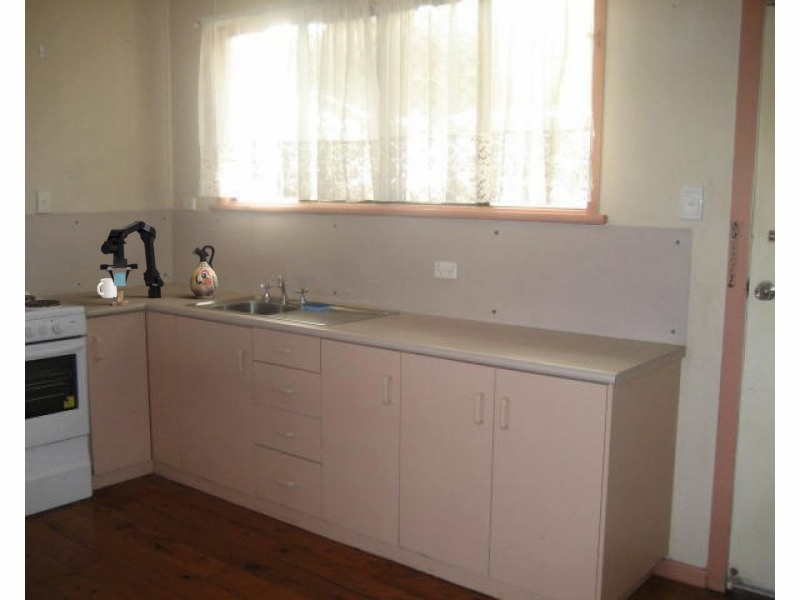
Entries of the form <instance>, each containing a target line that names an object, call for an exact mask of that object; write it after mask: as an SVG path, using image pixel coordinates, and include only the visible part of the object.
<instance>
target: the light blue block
mask: <svg viewBox="0 0 800 600" xmlns="http://www.w3.org/2000/svg"><path fill="white" fill-rule="evenodd" d="M113 276H114V286H117V287H122V286H123V287H124V286H125V287H126V285H127V282H126V283H125V278H126V271H117V272H116V271H113Z"/></svg>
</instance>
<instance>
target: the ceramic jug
mask: <svg viewBox="0 0 800 600" xmlns="http://www.w3.org/2000/svg"><path fill="white" fill-rule="evenodd" d="M208 249H210V250H211V255H210V254H209V252H208V251H207V250H208ZM215 251H216V250H215V247H214V246H213V245H212V244H205V245H204V246H202V248H200V247H198V246H197V247H195V249H194V250H193V251H192V252H191V254H193V255H194V256H195V255H196V256H197V257H199V262H198V263H197V265H196V266H195V268H194V270H193V271H192V273H191V275H190V279H189V287H190V290H191V292H192V293H193V294H194V295H195V298H196V299H198V298H199V299H198V300H202V299H204V300H205V299H206V298H207V299H212V298H214V295H215V293H216V292H217V290H218V288H219V280H218V276H217V274H216V272H215V270H214V265H213V261H214V257H215V254H216V253H215ZM209 256H210V257H209ZM208 257H209V260H208V259H207V258H208Z"/></svg>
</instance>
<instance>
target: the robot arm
mask: <svg viewBox="0 0 800 600" xmlns="http://www.w3.org/2000/svg"><path fill="white" fill-rule="evenodd" d="M135 232H136V233H137V234H139V236H140V240H141V241H142V243H143V245H144V255H145V263H146V264H145V265H146V270H145V272H143V273H142V274H143V280H144V283H145V287H148V289H147V297H148V298H150V299H153V298H152V297H160V298H162V287H164V285H165V281H164V280H163V279H162V278H161V273H160V272H159V271H158V268H157V264H156V255H155V254H156V253H155V245H154V243H155V240H156V238H157V230H156V228H154V227H153V226H151V225H149V224H148V223H146V222H145V221H143V220H135V221H134V222H132V223H129V224H128V225H125V226H123V227H116V228H111V230H110V232H109V234H108V236H107V239H106V240H104V241H103V244H101V247H100V251H101V253H102V254H103V255H112V264H109V263H100V265H99V270H102V271H104V270H105V271H106V272H108V273H109V275H110V278H112V280H113V283H114V271H113V269H126V270H125V283H126V284H127V281H128V277H129V275H130V273H131V272H133V270H138V269H139V264H138V263H137V262H130V263H129V262H128V258H126V257H125V245H126V244H128V243H127V241H126V239H127V238H128V236H129V235H130V234H132V233H135ZM128 263H129V264H128Z"/></svg>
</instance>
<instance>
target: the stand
mask: <svg viewBox="0 0 800 600" xmlns="http://www.w3.org/2000/svg"><path fill="white" fill-rule="evenodd" d="M120 306H126V307H127V306H130V301H129V300H124V291H123V290H117V300H112V307H120Z"/></svg>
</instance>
